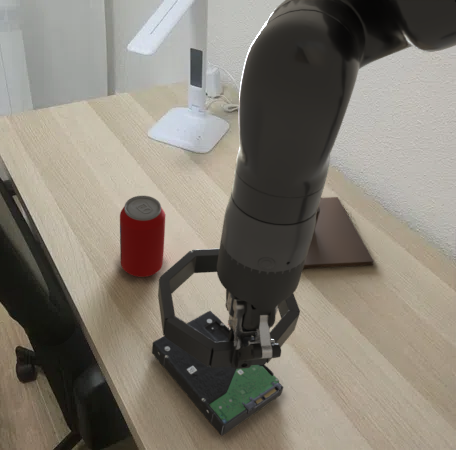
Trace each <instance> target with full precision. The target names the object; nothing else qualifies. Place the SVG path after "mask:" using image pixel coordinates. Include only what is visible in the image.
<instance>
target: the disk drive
mask: <svg viewBox="0 0 456 450" xmlns="http://www.w3.org/2000/svg"><path fill="white" fill-rule="evenodd" d="M186 323H187V324H188V325H190V326H191V327H193V328H194V329H196V330H197V331H199V332H200V333H202V334H204V335H205V336H207V337H208V338H210V339H211V340H213V341H214V342H221V341H228V337H229V332H230V327H228V326H227V325H225V323H224V322H223V321H222V320H221V319H220V318H219V317H218V316H217V315H215V313H213V312H212V310H208V311H207V312H205V313H202V314H201V315H199V316H198V317H196V318H194V319H192V320H190V321H188V322H186ZM151 348H152V349H151V353H152V355H153V356H154V357H155V359H156V360H157V362H158V363H160V365H161V366H162V367H163V368H164V370H165V371H166V372H167V374H168V375H169V376H170V377H171V378H172V379H173V380H174V381H175V383H176V384H177V386H179V387H180V389H181V390H182V391H183V392H184V393H185V394H186V395H187V397H188V398H189V399H190V401H191V402H192V404H194V406H195V407H196V408H197V410H199V412H200V413H201V414H202V415H203V416H204V417H205V419H206V420H207V421H208V423H210V425H211V426H212V427H213V428H214V429H215V430H216V431H217V433H218V434H219V435H220V436H222V437H223V436H225V435H226V434H227V433H229V432H230V431H232V430H234V429H235V428H236V427H239V426H240V425H241V424H242V423H244V422H245V421H246V420H248V419H249V418H251V417H252V416H253V415H255V414H256V413H258V412H260V411H261V410H262V409H263V408H265V407H266V406H268V405H269V404H270V403H272V402H273V401H275V400H276V399H277V398H278V397H279V398H280V397H281V395H282V393H283V389H284V386H283V385H282V384H281V383H280V380H279V378H278V377H276V376H275V375H274V372H273V371H272V370H271V369H270V368H269V367H268V366H267V365H266V364H263V365H251V366H250V368H242V369H236V368H232V367H216V368H211V366H209V367H207V366H206V365H205V364H203V363H202V362H200V361H199V360H197V359H196V358H194V357H193V356H191V355H190V354H188V353H187V352H185V351H184V350H183V349H181V348H180V347H178V346H177V345H175V344H174V343H172V342H171V341H169V340H168V339H166V338H165V335H163V336H161V337H159V338H158V339H156V340H154V341H153V342H152V347H151Z"/></svg>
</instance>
